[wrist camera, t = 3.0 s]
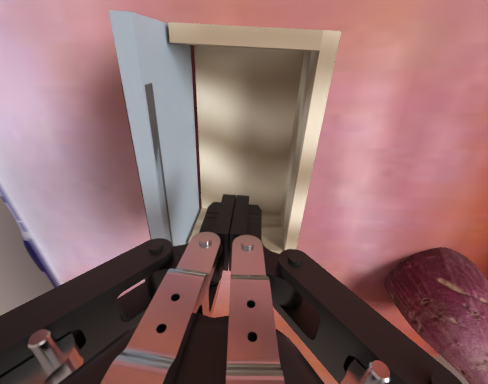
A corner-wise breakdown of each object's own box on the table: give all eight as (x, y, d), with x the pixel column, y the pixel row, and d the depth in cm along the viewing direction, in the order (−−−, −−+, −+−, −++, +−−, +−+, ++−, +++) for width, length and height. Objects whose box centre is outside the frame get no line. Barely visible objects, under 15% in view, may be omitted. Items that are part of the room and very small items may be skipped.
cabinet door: (174, 29, 19) (104, 10, 11) (189, 30, 19) (131, 11, 11) (189, 214, 28) (157, 284, 20) (199, 214, 28) (171, 285, 20)
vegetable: (432, 283, 37) (515, 416, 26) (368, 284, 36) (427, 422, 26) (486, 245, 30) (630, 408, 19) (407, 244, 29) (512, 416, 18)
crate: (196, 31, 20) (168, 22, 14) (317, 38, 20) (341, 31, 14) (203, 210, 29) (188, 251, 23) (287, 216, 29) (293, 260, 23)
